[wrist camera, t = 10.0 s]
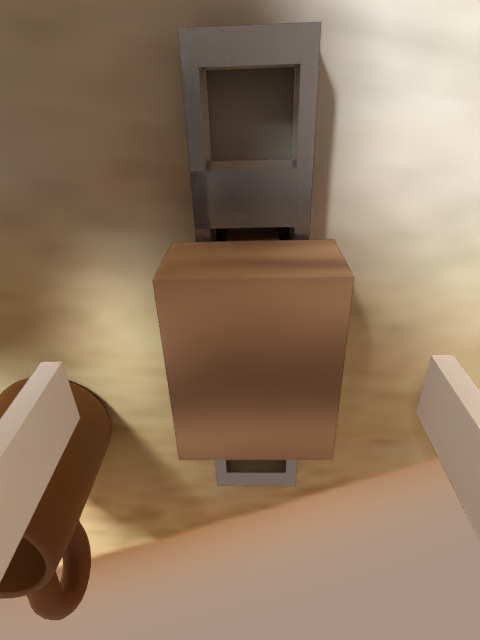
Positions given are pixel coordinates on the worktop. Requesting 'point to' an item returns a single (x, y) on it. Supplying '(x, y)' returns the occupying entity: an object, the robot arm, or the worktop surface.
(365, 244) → the worktop surface
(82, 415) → the mug
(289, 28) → the rail
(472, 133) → the worktop surface
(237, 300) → the tan cardboard box
